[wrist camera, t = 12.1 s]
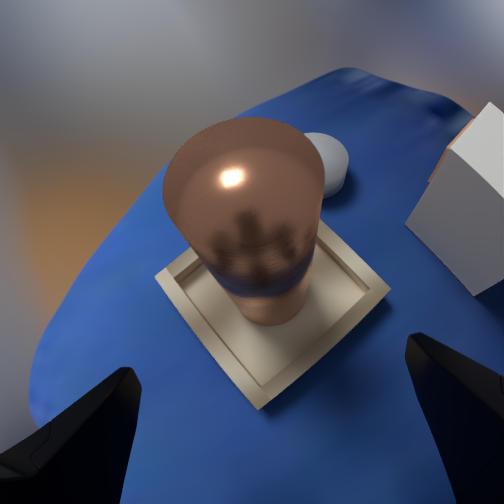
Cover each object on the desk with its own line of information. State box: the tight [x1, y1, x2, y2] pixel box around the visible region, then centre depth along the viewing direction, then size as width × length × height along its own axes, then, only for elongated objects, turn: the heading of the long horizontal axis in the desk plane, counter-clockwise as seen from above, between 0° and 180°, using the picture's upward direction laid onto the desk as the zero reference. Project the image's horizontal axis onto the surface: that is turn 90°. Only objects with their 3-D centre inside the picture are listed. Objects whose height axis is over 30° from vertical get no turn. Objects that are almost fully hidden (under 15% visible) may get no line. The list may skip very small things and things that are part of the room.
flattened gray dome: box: [304, 133, 349, 199], centre depth 23 cm, size 5×5×2 cm
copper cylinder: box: [163, 117, 325, 326], centre depth 14 cm, size 5×5×12 cm
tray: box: [155, 219, 391, 410], centre depth 20 cm, size 11×11×2 cm
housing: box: [405, 102, 504, 296], centre depth 16 cm, size 8×8×9 cm
